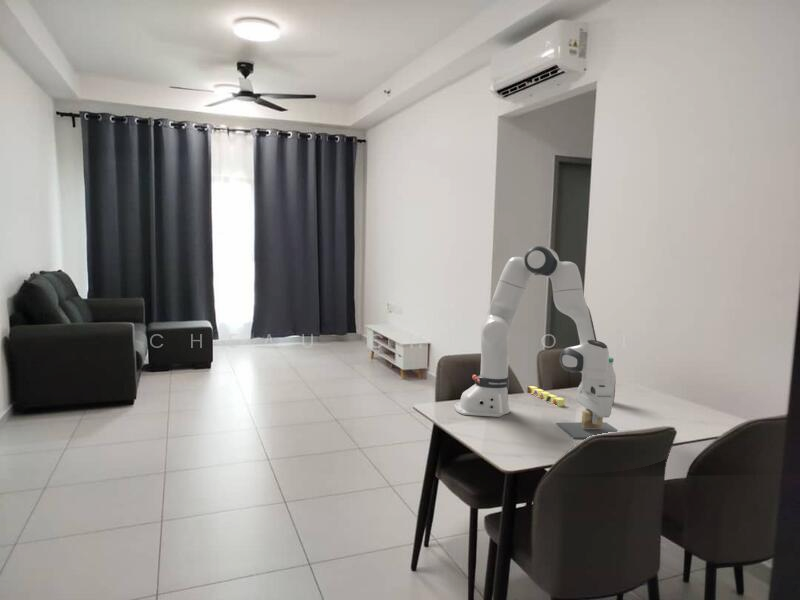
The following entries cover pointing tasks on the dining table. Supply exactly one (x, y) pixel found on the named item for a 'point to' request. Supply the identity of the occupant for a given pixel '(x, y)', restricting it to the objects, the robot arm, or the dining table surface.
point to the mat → (584, 429)
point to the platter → (546, 395)
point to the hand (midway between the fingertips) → (591, 421)
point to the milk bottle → (611, 377)
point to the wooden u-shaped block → (587, 420)
